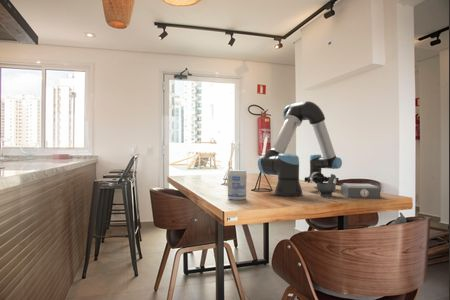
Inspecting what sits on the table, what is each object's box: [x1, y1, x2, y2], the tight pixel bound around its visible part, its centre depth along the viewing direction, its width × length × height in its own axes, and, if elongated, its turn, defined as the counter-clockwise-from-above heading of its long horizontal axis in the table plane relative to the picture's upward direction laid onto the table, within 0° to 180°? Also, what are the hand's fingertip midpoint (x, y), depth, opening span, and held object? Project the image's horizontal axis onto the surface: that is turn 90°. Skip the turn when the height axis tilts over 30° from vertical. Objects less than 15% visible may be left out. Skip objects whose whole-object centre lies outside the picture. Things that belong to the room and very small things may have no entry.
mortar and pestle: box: [316, 173, 337, 198], centre depth 156 cm, size 11×9×12 cm
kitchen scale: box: [340, 182, 381, 199], centre depth 156 cm, size 16×17×6 cm
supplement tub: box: [227, 169, 247, 201], centre depth 145 cm, size 10×10×15 cm
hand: (323, 181), depth 166 cm, fingers open, 13 cm apart
